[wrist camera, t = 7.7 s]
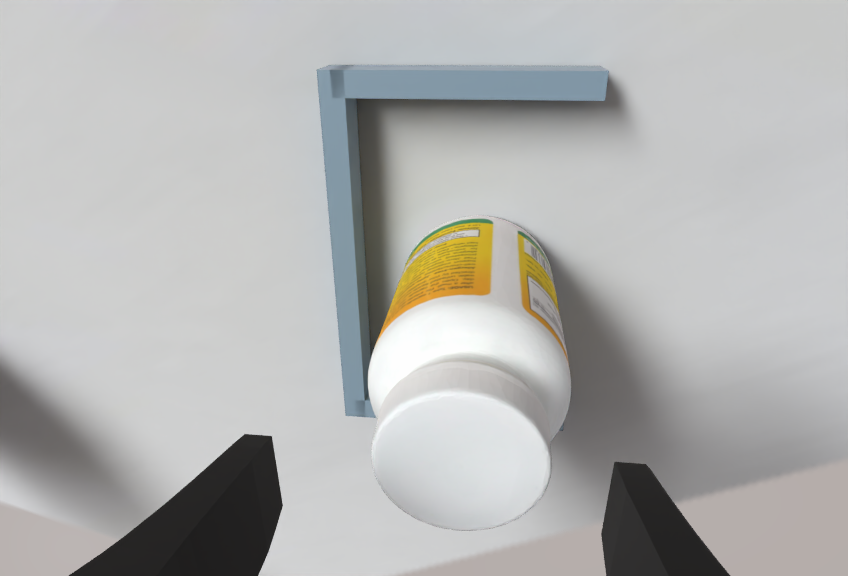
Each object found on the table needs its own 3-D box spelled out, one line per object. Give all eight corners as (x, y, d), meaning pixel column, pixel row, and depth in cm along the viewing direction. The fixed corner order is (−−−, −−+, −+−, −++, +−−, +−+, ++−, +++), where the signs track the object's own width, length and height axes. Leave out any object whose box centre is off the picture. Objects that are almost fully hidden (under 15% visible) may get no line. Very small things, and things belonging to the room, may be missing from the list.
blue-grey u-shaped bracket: (600, 65, 17) (608, 71, 16) (559, 405, 23) (562, 430, 22) (329, 65, 18) (316, 69, 17) (354, 392, 24) (345, 415, 23)
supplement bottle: (577, 243, 20) (637, 422, 11) (514, 361, 22) (525, 581, 14) (433, 187, 20) (383, 328, 11) (385, 313, 22) (314, 507, 14)
